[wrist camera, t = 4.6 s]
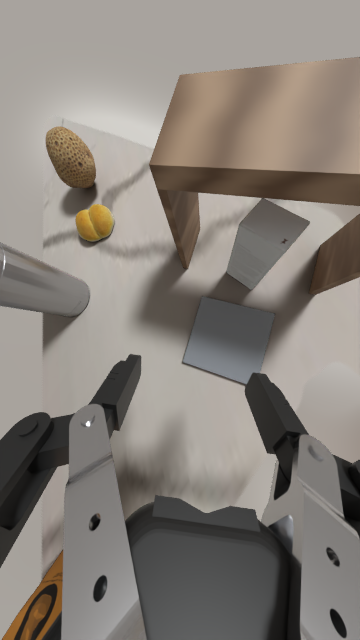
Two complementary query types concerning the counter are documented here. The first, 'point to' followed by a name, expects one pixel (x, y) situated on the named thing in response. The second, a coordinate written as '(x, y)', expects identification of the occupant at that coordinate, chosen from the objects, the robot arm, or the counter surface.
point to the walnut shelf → (265, 149)
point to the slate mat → (229, 339)
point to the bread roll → (95, 223)
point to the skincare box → (263, 241)
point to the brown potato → (70, 158)
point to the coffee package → (40, 607)
